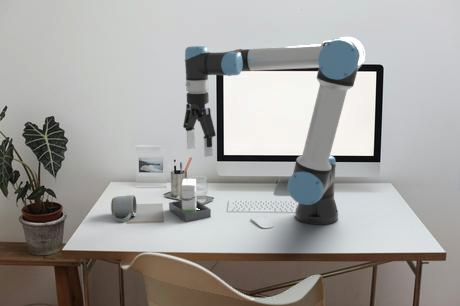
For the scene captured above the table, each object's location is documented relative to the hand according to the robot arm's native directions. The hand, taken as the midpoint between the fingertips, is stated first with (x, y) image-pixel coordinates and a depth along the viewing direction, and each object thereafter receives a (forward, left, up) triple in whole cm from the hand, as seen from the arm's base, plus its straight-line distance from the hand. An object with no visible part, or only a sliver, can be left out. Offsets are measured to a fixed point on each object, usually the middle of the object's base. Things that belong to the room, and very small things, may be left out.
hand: (199, 152), depth 200 cm
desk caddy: (+3, -3, -24) cm, 24 cm away
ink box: (+3, -3, -23) cm, 24 cm away
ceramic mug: (+25, -12, -24) cm, 36 cm away
